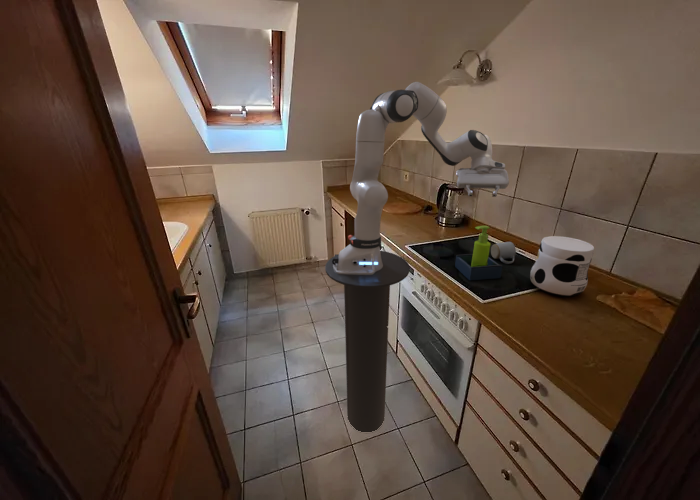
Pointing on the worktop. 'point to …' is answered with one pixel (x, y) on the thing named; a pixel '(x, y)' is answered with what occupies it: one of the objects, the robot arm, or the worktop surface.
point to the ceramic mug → (503, 251)
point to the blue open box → (477, 268)
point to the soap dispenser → (481, 248)
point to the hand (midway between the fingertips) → (482, 195)
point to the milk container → (562, 265)
